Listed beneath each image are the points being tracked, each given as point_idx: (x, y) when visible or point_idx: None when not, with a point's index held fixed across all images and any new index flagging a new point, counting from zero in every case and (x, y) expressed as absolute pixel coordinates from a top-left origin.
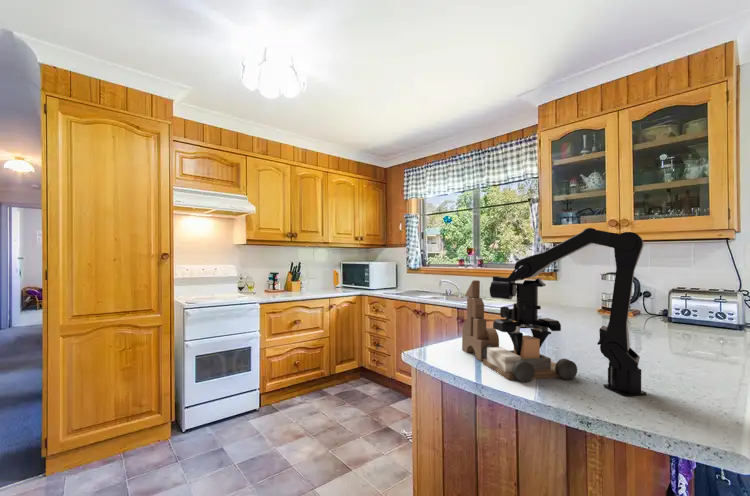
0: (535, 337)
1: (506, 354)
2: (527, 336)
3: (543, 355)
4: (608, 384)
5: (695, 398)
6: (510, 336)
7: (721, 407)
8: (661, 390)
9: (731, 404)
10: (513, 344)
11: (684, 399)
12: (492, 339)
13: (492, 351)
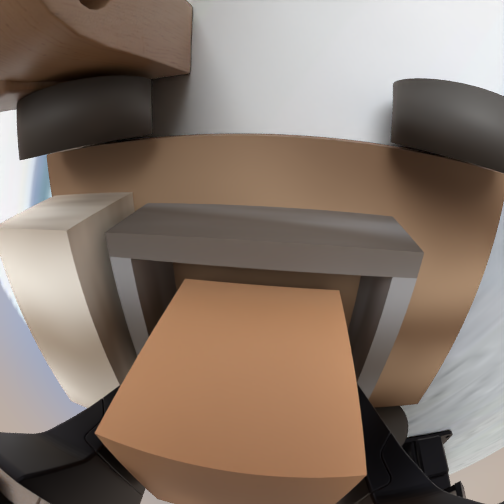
0: (350, 501)
1: (78, 383)
2: (280, 494)
3: (369, 394)
4: (409, 442)
5: (474, 451)
6: (54, 435)
7: (457, 466)
8: (478, 435)
9: (481, 456)
10: (114, 391)
11: (455, 457)
12: (13, 71)
13: (20, 294)
